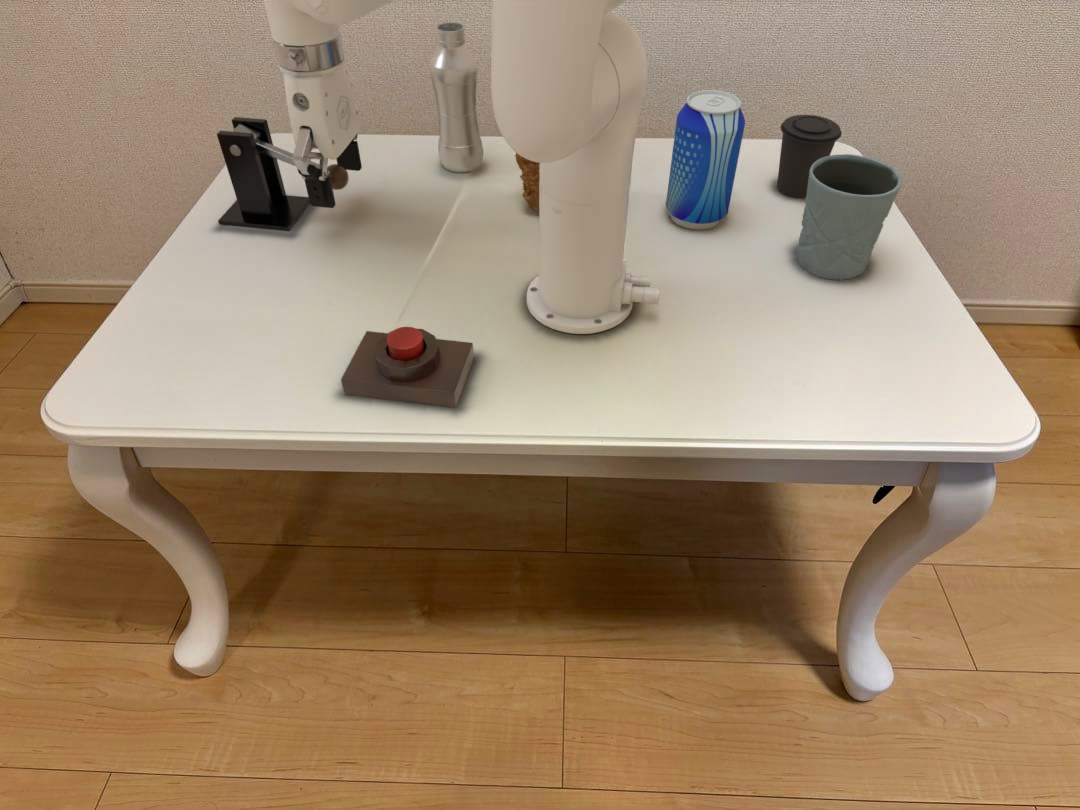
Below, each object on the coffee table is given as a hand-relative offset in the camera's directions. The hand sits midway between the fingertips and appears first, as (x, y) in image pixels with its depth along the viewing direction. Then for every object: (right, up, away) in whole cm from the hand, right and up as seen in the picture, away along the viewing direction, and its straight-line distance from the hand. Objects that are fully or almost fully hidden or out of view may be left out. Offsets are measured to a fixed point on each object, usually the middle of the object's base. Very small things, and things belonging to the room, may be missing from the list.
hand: (337, 186), depth 100 cm
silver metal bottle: (+15, +7, +15) cm, 22 cm away
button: (+13, -23, -21) cm, 33 cm away
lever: (-6, +2, -1) cm, 6 cm away
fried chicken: (+30, -1, +7) cm, 31 cm away
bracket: (-11, -3, +5) cm, 12 cm away
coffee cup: (+63, +3, +10) cm, 64 cm away
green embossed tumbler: (+63, -10, -3) cm, 64 cm away
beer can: (+48, -3, +5) cm, 48 cm away
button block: (+13, -25, -18) cm, 34 cm away
